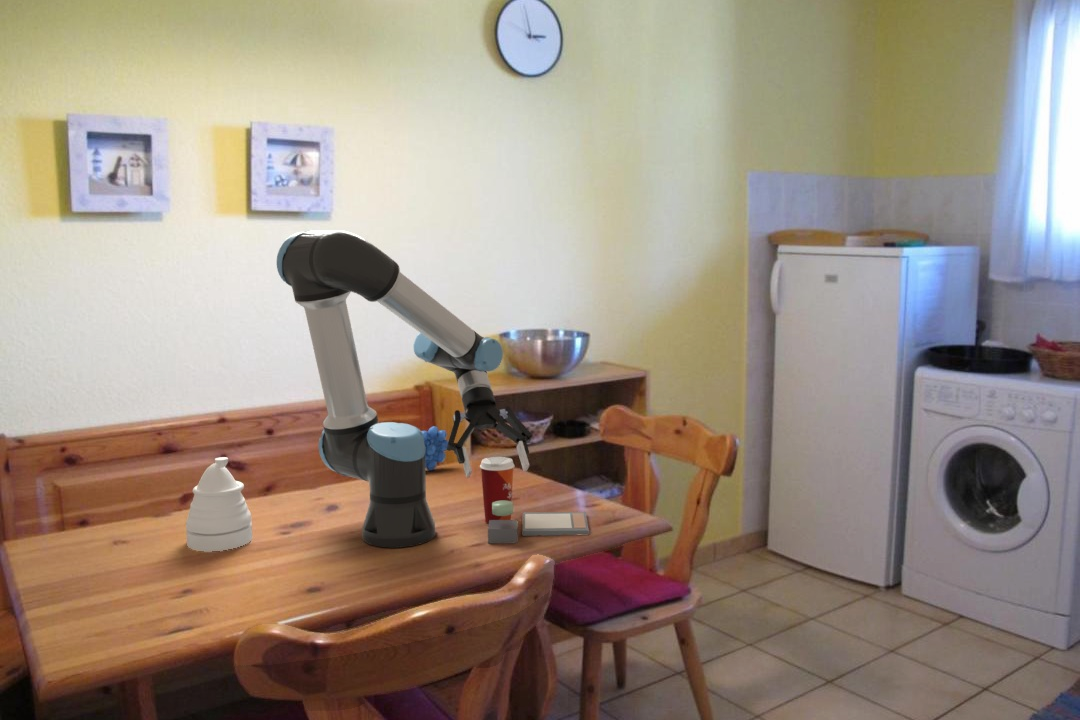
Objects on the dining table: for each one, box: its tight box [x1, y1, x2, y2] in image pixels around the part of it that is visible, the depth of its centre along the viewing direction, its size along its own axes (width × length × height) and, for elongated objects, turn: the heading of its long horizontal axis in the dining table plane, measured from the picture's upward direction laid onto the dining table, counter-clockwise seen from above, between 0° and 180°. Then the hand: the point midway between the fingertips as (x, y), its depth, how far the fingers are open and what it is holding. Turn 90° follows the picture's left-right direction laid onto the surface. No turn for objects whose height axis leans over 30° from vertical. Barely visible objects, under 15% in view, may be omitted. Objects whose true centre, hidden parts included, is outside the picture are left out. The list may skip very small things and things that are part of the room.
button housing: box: [487, 519, 519, 544], centre depth 188 cm, size 6×6×3 cm
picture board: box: [521, 511, 590, 537], centre depth 196 cm, size 14×13×1 cm
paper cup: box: [479, 456, 516, 526], centre depth 198 cm, size 8×8×14 cm
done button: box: [492, 500, 514, 516], centre depth 188 cm, size 4×4×2 cm
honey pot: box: [185, 456, 253, 553], centre depth 187 cm, size 13×13×18 cm
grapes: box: [420, 425, 449, 471], centre depth 244 cm, size 12×7×12 cm, turn 122°
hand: (498, 471), depth 202 cm, fingers open, 13 cm apart
